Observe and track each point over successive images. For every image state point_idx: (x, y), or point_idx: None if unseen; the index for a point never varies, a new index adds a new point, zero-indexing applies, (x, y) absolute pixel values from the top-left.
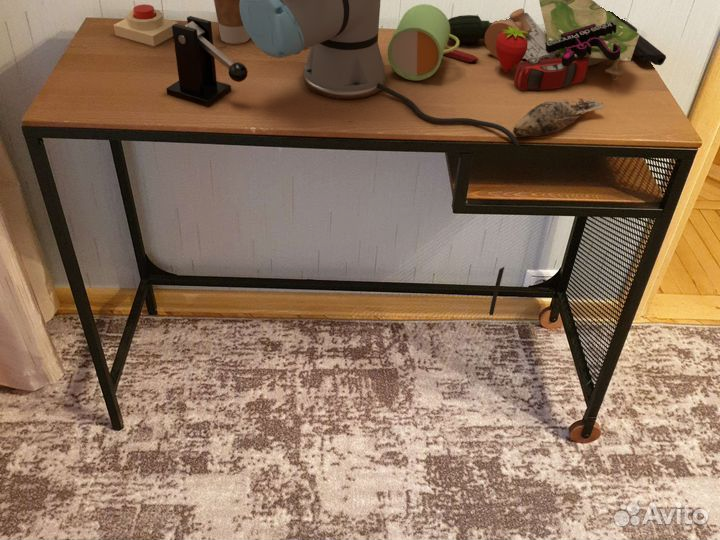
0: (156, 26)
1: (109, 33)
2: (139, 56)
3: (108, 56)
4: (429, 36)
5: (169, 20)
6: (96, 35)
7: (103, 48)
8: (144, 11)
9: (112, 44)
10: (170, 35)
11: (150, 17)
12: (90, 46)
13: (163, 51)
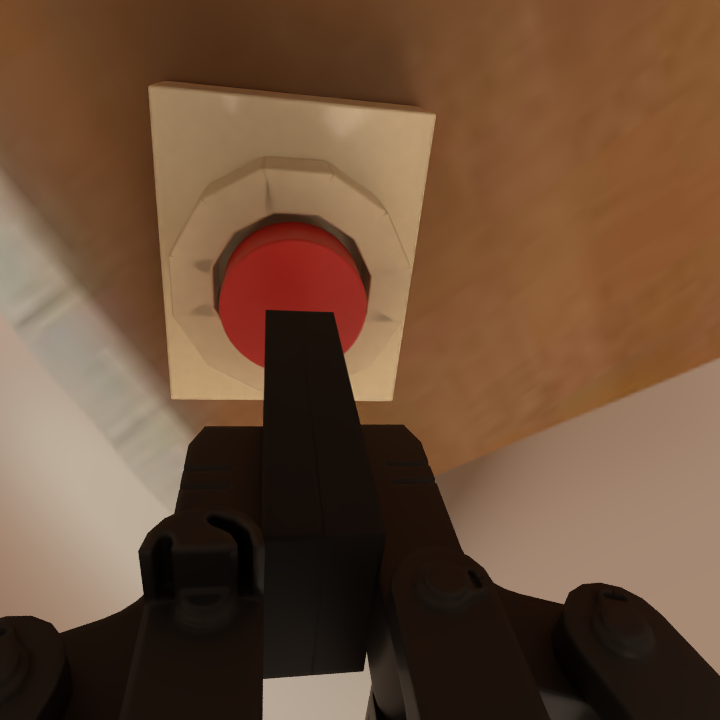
0: (327, 163)
1: (373, 404)
2: (563, 108)
3: (602, 254)
4: None
5: (160, 166)
6: (416, 433)
7: (528, 327)
8: (343, 269)
9: (475, 321)
10: (259, 90)
11: (315, 228)
12: (527, 384)
13: (456, 7)
